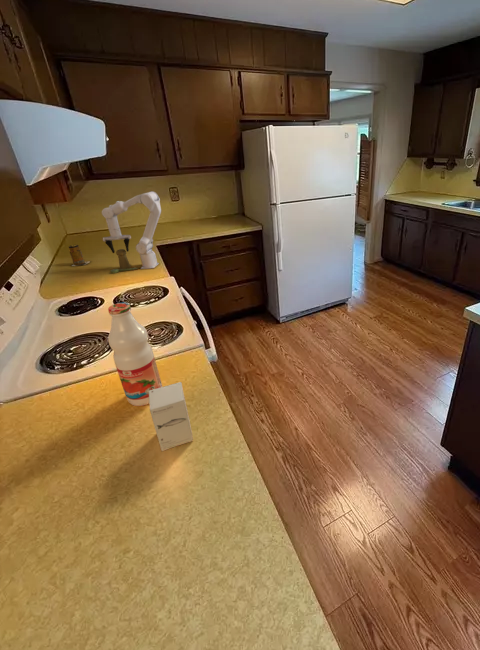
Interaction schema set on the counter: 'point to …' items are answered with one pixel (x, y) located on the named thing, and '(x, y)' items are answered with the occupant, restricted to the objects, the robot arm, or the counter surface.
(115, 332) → the fruit juice
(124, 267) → the cork
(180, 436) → the white packaging box
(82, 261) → the condiment
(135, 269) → the spoon
